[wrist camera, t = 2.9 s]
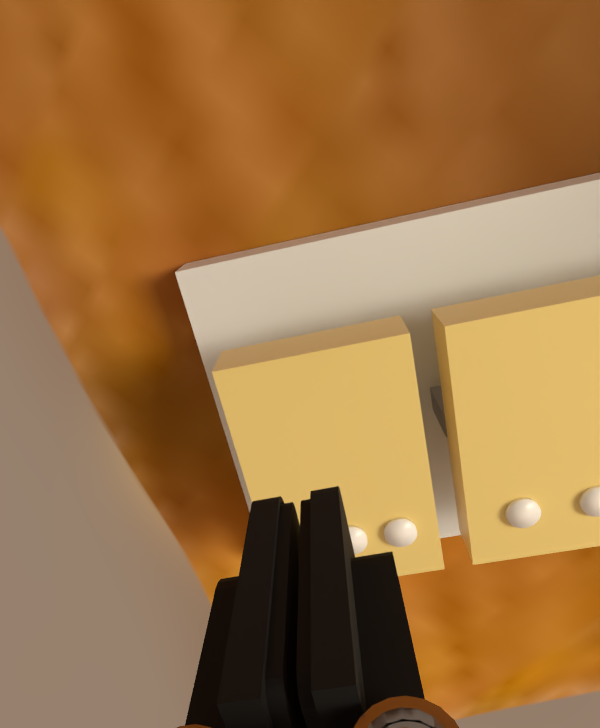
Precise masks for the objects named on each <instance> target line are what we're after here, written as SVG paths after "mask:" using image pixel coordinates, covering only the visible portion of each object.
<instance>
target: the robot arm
mask: <svg viewBox="0 0 600 728" xmlns="http://www.w3.org/2000/svg"><path fill="white" fill-rule="evenodd" d="M177 728H459V727H458V725H457V724H456V722H455V720H454V719H452V718H451V717H450V716H449V715H448V714H447V713H446V712H445V711H444V710H443V709H442V708H441V707H439V706H437V705H435V704H433V703H431V702H429V701H427V700H425V698H424V694H423V689H422V684H421V680H420V675H419V671H418V666H417V662H416V657H415V652H414V648H413V643H412V639H411V634H410V630H409V625H408V620H407V616H406V611H405V607H404V602H403V598H402V593H401V588H400V584H399V579H398V575H397V570H396V566H395V561H394V556H393V552H392V551H391V552H385V553H379V554H373V555H367V556H361V557H355V554H354V549H353V545H352V541H351V536H350V532H349V527H348V523H347V518H346V514H345V509H344V505H343V500H342V496H341V492H340V488H339V486H336V487H331V488H325V489H319V490H313V491H311V492H310V499H307V500H301V506H300V524H299V520H298V516H297V513H296V509H295V505H294V503H293V502H290V503H284V501H283V499H282V497H281V496H279V497H273V498H268V499H262V500H256V501H253V502H252V504H251V509H250V515H249V521H248V527H247V532H246V538H245V544H244V550H243V555H242V561H241V567H240V573H239V576H237V577H231V578H225V579H220V581H219V582H218V584H217V587H216V590H215V594H214V599H213V603H212V607H211V612H210V617H209V621H208V626H207V630H206V635H205V639H204V643H203V648H202V652H201V657H200V661H199V666H198V670H197V675H196V679H195V683H194V688H193V693H192V697H191V701H190V706H189V711H188V715H187V719H186V724H185V726H180V727H177Z"/></svg>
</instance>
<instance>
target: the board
mask: <svg viewBox="0 0 600 728" xmlns="http://www.w3.org/2000/svg"><path fill="white" fill-rule="evenodd" d="M175 274H176V278H177V281H178V284H179V287H180V290H181V294H182V297H183V300H184V303H185V307H186V310H187V313H188V316H189V319H190V323H191V326H192V329H193V332H194V335H195V339H196V342H197V345H198V348H199V352H200V355H201V358H202V361H203V364H204V368H205V371H206V374H207V377H208V380H209V384H210V387H211V390H212V393H213V397H214V400H215V403H216V406H217V409H218V413H219V416H220V419H221V422H222V425H223V429H224V432H225V435H226V438H227V442H228V445H229V448H230V451H231V454H232V458H233V461H234V464H235V467H236V470H237V474H238V477H239V480H240V483H241V487H242V490H243V493H244V496H245V499H246V503H247V506H248V509H249V512H250V509H251V504H252V501H251V498H250V495H249V492H248V488H247V485H246V482H245V479H244V475H243V472H242V469H241V466H240V462H239V459H238V456H237V452H236V449H235V446H234V443H233V439H232V436H231V433H230V430H229V426H228V423H227V420H226V417H225V413H224V410H223V407H222V404H221V400H220V397H219V394H218V390H217V387H216V384H215V381H214V377H213V374H212V371H213V369H214V366H215V364H216V362H217V360H218V358H219V356H220V353H221V351H225V350H230V349H235V348H240V347H245V346H250V345H255V344H260V343H265V342H270V341H275V340H280V339H285V338H290V337H295V336H300V335H305V334H310V333H315V332H320V331H324V330H329V329H334V328H339V327H344V326H349V325H354V324H359V323H364V322H369V321H374V320H379V319H384V318H389V317H394V316H399V315H400V316H401V318H402V320H403V321H404V323H405V325H406V327H407V329H408V330H409V332H410V337H411V344H412V350H413V357H414V364H415V371H416V378H417V385H418V391H419V398H420V405H421V412H422V419H423V426H424V432H425V439H426V446H427V453H428V460H429V467H430V473H431V480H432V487H433V494H434V501H435V508H436V514H437V521H438V528H439V535H440V538H444V537H451V536H457V535H461V533H460V531H459V523H458V515H457V508H456V500H455V492H454V484H453V476H452V468H451V461H450V453H449V445H448V437H447V429H446V422H445V414H444V406H443V398H442V390H441V382H440V375H439V367H438V359H437V351H436V343H435V336H434V328H433V320H432V312H431V309H434V308H439V307H444V306H449V305H454V304H459V303H464V302H469V301H474V300H479V299H484V298H489V297H494V296H499V295H504V294H509V293H514V292H519V291H524V290H529V289H534V288H539V287H544V286H549V285H554V284H559V283H564V282H569V281H574V280H579V279H584V278H589V277H594V276H599V275H600V173H595V174H590V175H586V176H581V177H577V178H572V179H568V180H563V181H559V182H554V183H550V184H545V185H540V186H536V187H531V188H527V189H522V190H518V191H513V192H509V193H504V194H500V195H495V196H490V197H486V198H481V199H477V200H472V201H468V202H463V203H459V204H454V205H449V206H445V207H440V208H436V209H431V210H427V211H422V212H418V213H413V214H409V215H404V216H399V217H395V218H390V219H386V220H381V221H377V222H372V223H368V224H363V225H359V226H354V227H349V228H345V229H340V230H336V231H331V232H327V233H322V234H318V235H313V236H308V237H304V238H299V239H295V240H290V241H286V242H281V243H277V244H272V245H268V246H263V247H258V248H254V249H249V250H245V251H240V252H236V253H231V254H227V255H222V256H218V257H213V258H208V259H204V260H199V261H195V262H190V263H186V264H184V265H183V266H182V267H180V268H179V269H178V270H177V271H176V272H175Z"/></svg>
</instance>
